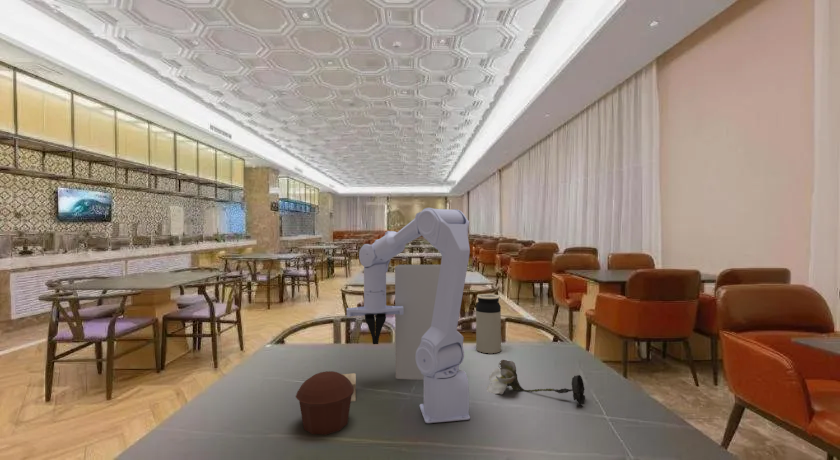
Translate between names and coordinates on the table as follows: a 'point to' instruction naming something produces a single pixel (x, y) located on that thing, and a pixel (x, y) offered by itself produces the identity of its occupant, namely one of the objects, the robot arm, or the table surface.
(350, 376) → the maple block
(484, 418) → the table surface
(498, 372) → the artificial flower
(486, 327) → the travel mug
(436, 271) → the tall grey block
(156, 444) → the table surface
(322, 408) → the muffin
